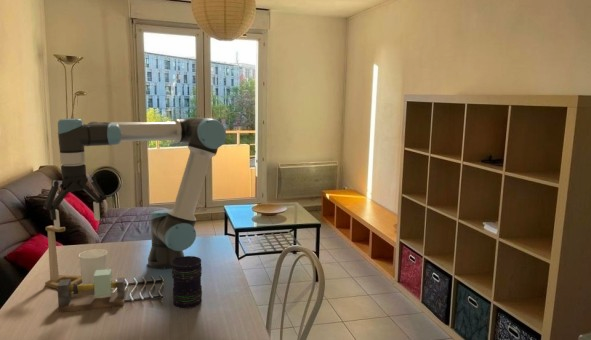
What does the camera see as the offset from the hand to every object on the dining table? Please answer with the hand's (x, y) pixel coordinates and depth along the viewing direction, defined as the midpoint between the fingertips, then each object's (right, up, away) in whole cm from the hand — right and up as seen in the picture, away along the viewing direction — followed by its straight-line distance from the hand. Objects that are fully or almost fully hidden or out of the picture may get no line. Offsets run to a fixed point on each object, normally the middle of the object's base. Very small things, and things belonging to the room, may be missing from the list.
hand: (78, 224), depth 148 cm
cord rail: (+7, -27, -3) cm, 28 cm away
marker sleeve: (+10, -23, -3) cm, 26 cm away
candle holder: (0, -24, +12) cm, 27 cm away
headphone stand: (-11, -24, +12) cm, 29 cm away
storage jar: (+39, -27, -1) cm, 47 cm away
